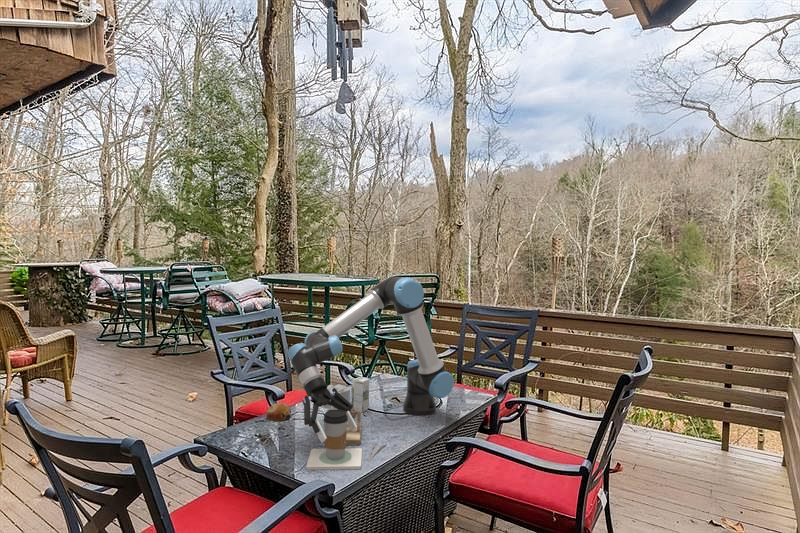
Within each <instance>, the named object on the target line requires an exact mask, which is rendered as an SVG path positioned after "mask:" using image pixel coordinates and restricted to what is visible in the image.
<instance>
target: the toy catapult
mask: <svg viewBox="0 0 800 533" xmlns="http://www.w3.org/2000/svg"><path fill="white" fill-rule="evenodd" d="M350 411H351V413H352V415H353V417H354V419H356V425H357V428H356V429H355V430H354V431H352V430H351V428H350V426H349V425H348V423H347V434H346V446H361V445H360V444H361V435H362V423H361V413H360V410H357V411H355V409H354V408H352V409H351V410H350Z"/></svg>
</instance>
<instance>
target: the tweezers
mask: <svg viewBox="0 0 800 533" xmlns="http://www.w3.org/2000/svg"><path fill="white" fill-rule="evenodd" d="M377 445H378V442H375V443H373V444H372V447H371V452H370V455H369V457H368V460H369V461H371V460H372V459H373V458H374V457H375V456H376V455H377V454H378V453H379V452H380V451H381V450H382V449H383V448H384V447H386V444H384V443H382V445H381V446H380V447H379V448H377V450H376V451H375V452H374V453H373V451H374V449H375V446H377ZM380 449H381V450H380ZM372 454H373V455H372ZM371 455H372V456H371Z"/></svg>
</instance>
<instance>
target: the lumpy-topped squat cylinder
mask: <svg viewBox="0 0 800 533" xmlns="http://www.w3.org/2000/svg"><path fill="white" fill-rule="evenodd" d="M333 388H335V389H336V390H337V392H338V393H339V394H340V395H341V396H343V397H344V398H345V399H346V400H347V401H348V402H349V403H350V404H351V389H350V387H348V386H346V385H342V384H340V383H339V384H336V385H333V384H329V385H327V389H328V390H329V391H331V390H332V389H333ZM330 401H331V399H330ZM322 408H323V409H327V410H330V408H331V405H328V404H327V405H323V406H322Z"/></svg>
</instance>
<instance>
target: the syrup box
mask: <svg viewBox="0 0 800 533" xmlns="http://www.w3.org/2000/svg"><path fill="white" fill-rule="evenodd" d="M351 384H352V386H351V387H352V388H351V390H352V391H351V404H352V405H353V408H354V409H355V411H357V410H360V414H363V413H365V412H367V411H368V410H369V406H370V405H369V402H370V378H367V377H363V376H359V377H357V378H354V379H352V383H351Z"/></svg>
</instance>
